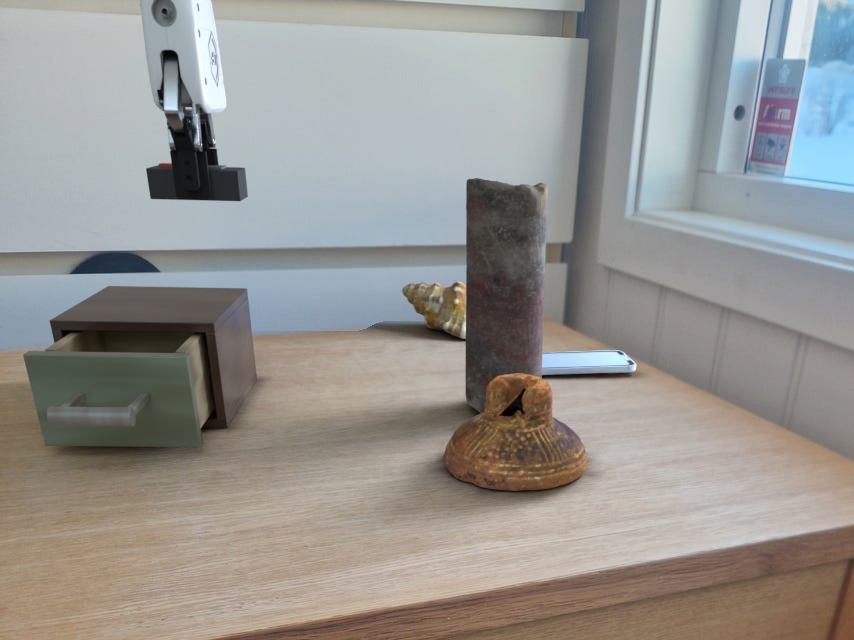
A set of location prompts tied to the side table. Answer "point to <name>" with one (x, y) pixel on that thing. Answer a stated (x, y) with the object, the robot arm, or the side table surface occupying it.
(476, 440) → the bell
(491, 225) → the candle
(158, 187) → the remote
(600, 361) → the smartphone
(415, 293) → the seashell
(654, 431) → the side table surface
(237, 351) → the cabinet
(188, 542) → the side table surface
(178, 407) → the drawer
